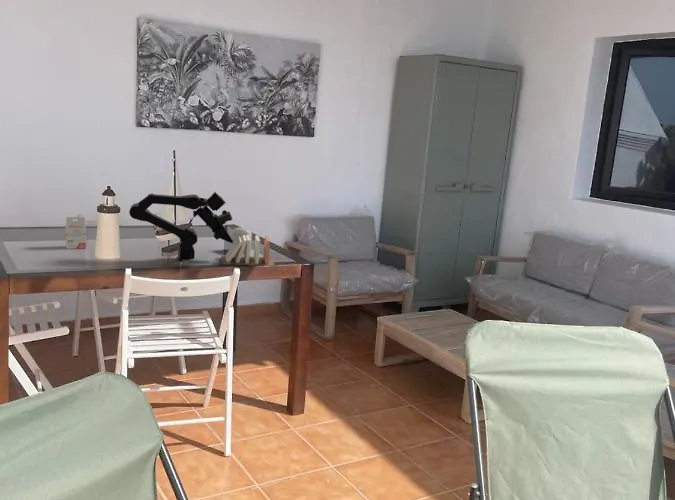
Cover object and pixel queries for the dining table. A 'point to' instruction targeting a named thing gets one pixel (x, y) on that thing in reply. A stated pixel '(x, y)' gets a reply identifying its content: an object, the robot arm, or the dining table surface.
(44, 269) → the dining table surface
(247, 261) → the domino
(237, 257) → the domino
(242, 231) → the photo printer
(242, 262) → the walnut board
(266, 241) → the domino
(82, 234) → the ink cartridge box
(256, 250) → the domino
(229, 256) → the domino
